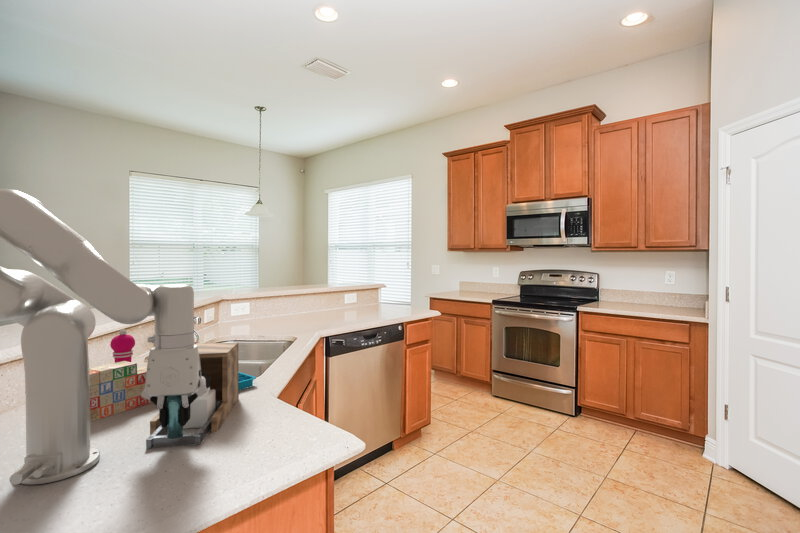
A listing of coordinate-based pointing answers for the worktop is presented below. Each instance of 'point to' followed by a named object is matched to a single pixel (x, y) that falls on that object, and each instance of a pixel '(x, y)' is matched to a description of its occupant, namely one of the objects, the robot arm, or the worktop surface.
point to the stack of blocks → (116, 388)
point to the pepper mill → (122, 346)
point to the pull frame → (178, 427)
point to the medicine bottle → (202, 406)
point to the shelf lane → (217, 379)
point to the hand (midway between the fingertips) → (175, 423)
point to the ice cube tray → (245, 380)
